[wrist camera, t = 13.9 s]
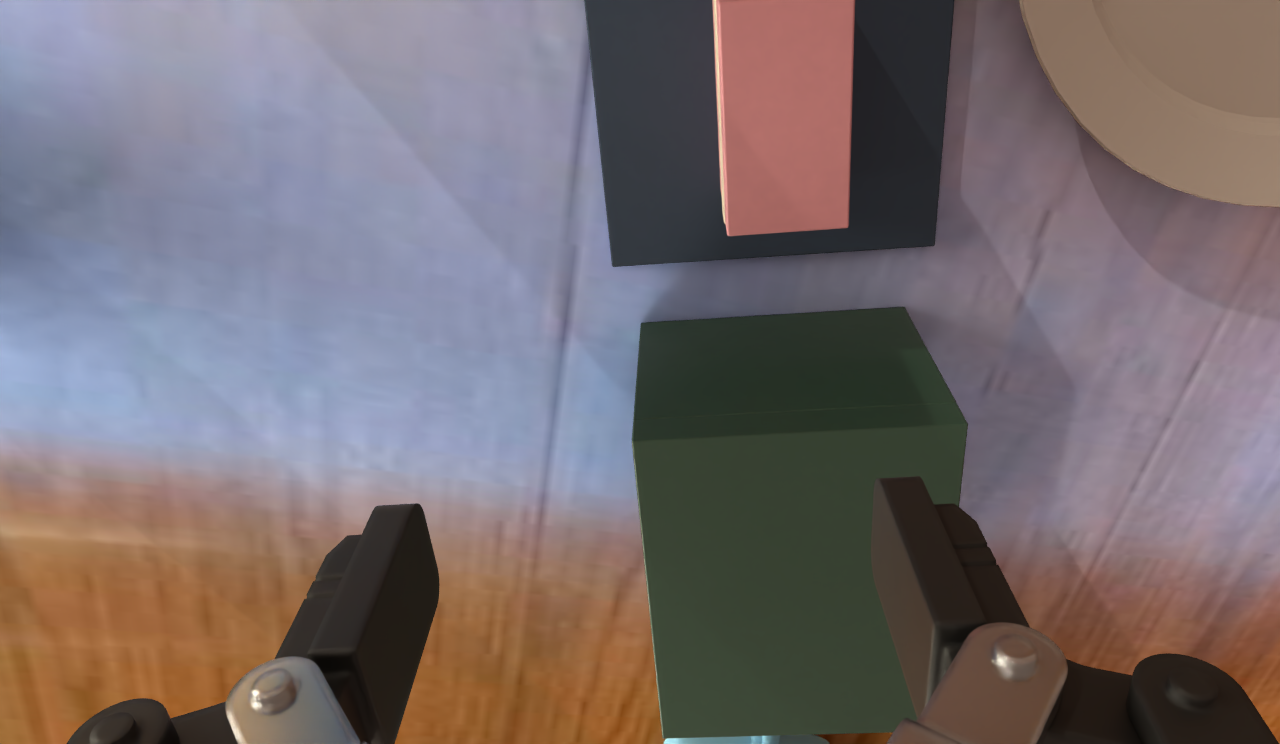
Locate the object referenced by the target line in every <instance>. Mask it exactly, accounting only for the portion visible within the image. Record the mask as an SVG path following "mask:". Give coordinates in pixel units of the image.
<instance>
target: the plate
mask: <svg viewBox="0 0 1280 744" xmlns="http://www.w3.org/2000/svg"><path fill="white" fill-rule="evenodd" d="M1019 4H1020V9H1021V14H1022V18H1023V21H1024V23H1025V26H1026V29H1027V32H1028V35H1029V38H1030V41H1031V43H1032V46H1033V49H1034V52H1035V55H1036V57H1037V59H1038V61H1039V63H1040V65H1041V67H1042V69H1043V71H1044V72H1045V74H1046V76H1047V78H1048V80H1049V82H1050V84H1051V86H1052V88H1053V90H1054V92H1055V93H1056V94H1057V96H1058V97H1059V98H1060V100H1061V101H1062V102H1063V104H1064V105H1065V106H1066V108H1067V109H1068V111H1069V112H1070V113H1071V115H1072V116H1073V117H1074V119H1075V120H1076V121H1077V123H1078V124H1079V125H1080V126H1081V127H1082V128H1083V129H1084V130H1085V131H1086V132H1088V133H1089V134H1090V135H1091V136H1092V137H1093V138H1094V139H1095V140H1096V141H1097V142H1098V143H1099V144H1100V145H1101V146H1102V147H1103V148H1104V149H1105V150H1107V151H1108V152H1109V153H1111V154H1112V155H1114V156H1115V157H1116V158H1118V159H1119V160H1121V161H1122V162H1123V163H1125V164H1126V165H1128V166H1129V167H1130V168H1132V169H1133V170H1135V171H1137V172H1139V173H1141V174H1143V175H1145V176H1147V177H1149V178H1151V179H1153V180H1155V181H1157V182H1159V183H1161V184H1163V185H1165V186H1167V187H1170V188H1173V189H1176V190H1179V191H1182V192H1185V193H1188V194H1191V195H1194V196H1197V197H1200V198H1204V199H1209V200H1215V201H1220V202H1226V203H1231V204H1237V205H1245V206H1265V207H1280V0H1019Z"/></svg>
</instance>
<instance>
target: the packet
mask: <svg viewBox="0 0 1280 744" xmlns="http://www.w3.org/2000/svg"><path fill="white" fill-rule="evenodd" d="M712 4H713V27H714V51H715V74H716V97H717V120H718V143H719V166H720V190H721V196H722V212H723V219H724V223H725V224H726V229H727V235H728V236H740V235H754V234H769V233H783V232H798V231H812V230H827V229H841V228H848V226H849V198H850V162H851V127H852V91H853V55H854V20H855V0H712Z"/></svg>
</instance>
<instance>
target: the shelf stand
mask: <svg viewBox="0 0 1280 744" xmlns="http://www.w3.org/2000/svg"><path fill="white" fill-rule="evenodd" d="M633 420H634V421H633V433H632V448H633V458H634V467H635V477H636V487H637V496H638V506H639V515H640V525H641V535H642V544H643V554H644V564H645V573H646V583H647V592H648V602H649V612H650V621H651V631H652V641H653V650H654V660H655V669H656V679H657V689H658V698H659V708H660V717H661V727H662V737H663V738H664V739H668V738H704V737H740V736H776V735H812V734H848V733H884V732H894V731H895V729H896V728H897V726H898V725H899V724H900V722H901V721H902V720H903V719H905V718H910V719H912V720H914V721H916V720H917V716H916V713H915V710H914V707H913V703H912V700H911V697H910V694H909V691H908V687H907V684H906V681H905V678H904V675H903V672H902V668H901V665H900V662H899V659H898V656H897V653H896V649H895V646H894V643H893V640H892V637H891V633H890V630H889V627H888V624H887V621H886V618H885V614H884V611H883V608H882V605H881V602H880V599H879V595H878V592H877V589H876V586H875V582H874V578H873V572H872V564H871V533H872V513H873V494H874V484H875V480H876V479H877V478H895V477H912V476H920V477H921V478H922V480H923V482H924V484H925V486H926V488H927V491H928V493H929V495H930V497H931V499H932V502H933V504H952V503H954V504H956V505H957V506H958V507H959V501H960V492H961V483H962V474H963V465H964V456H965V447H966V437H967V428H968V423H967V421H966V420H965V418H964V416H963V414H962V412H961V410H960V409H959V407H958V405H957V403H956V401H955V399H954V397H953V395H952V394H951V392H950V390H949V388H948V386H947V384H946V383H945V381H944V379H943V377H942V375H941V373H940V372H939V370H938V368H937V366H936V364H935V362H934V361H933V359H932V357H931V355H930V353H929V351H928V350H927V348H926V346H925V344H924V342H923V340H922V339H921V337H920V335H919V333H918V331H917V329H916V327H915V326H914V324H913V322H912V320H911V318H910V316H909V315H908V313H907V311H906V309H905V307H894V308H878V309H861V310H845V311H828V312H812V313H795V314H779V315H762V316H745V317H729V318H712V319H696V320H679V321H663V322H646V323H641V328H640V341H639V354H638V367H637V380H636V393H635V406H634V419H633Z"/></svg>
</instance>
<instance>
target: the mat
mask: <svg viewBox="0 0 1280 744" xmlns="http://www.w3.org/2000/svg"><path fill="white" fill-rule="evenodd" d="M584 1H585V11H586V20H587V30H588V40H589V49H590V59H591V68H592V78H593V87H594V97H595V106H596V116H597V126H598V135H599V145H600V154H601V164H602V173H603V183H604V192H605V202H606V211H607V221H608V231H609V240H610V250H611V259H612V266H613V267H618V266H633V265H648V264H664V263H679V262H695V261H710V260H725V259H741V258H756V257H772V256H787V255H802V254H818V253H833V252H849V251H864V250H879V249H895V248H910V247H926V246H934V245H935V234H936V222H937V209H938V197H939V184H940V172H941V159H942V147H943V134H944V122H945V109H946V97H947V84H948V72H949V59H950V47H951V34H952V22H953V9H954V0H855V20H854V55H853V91H852V127H851V162H850V198H849V226H848V228H841V229H827V230H812V231H798V232H783V233H769V234H754V235H740V236H728V235H727V229H726V224H725V223H724V219H723V212H722V196H721V190H720V166H719V143H718V120H717V97H716V74H715V51H714V27H713V4H712V0H584Z"/></svg>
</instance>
